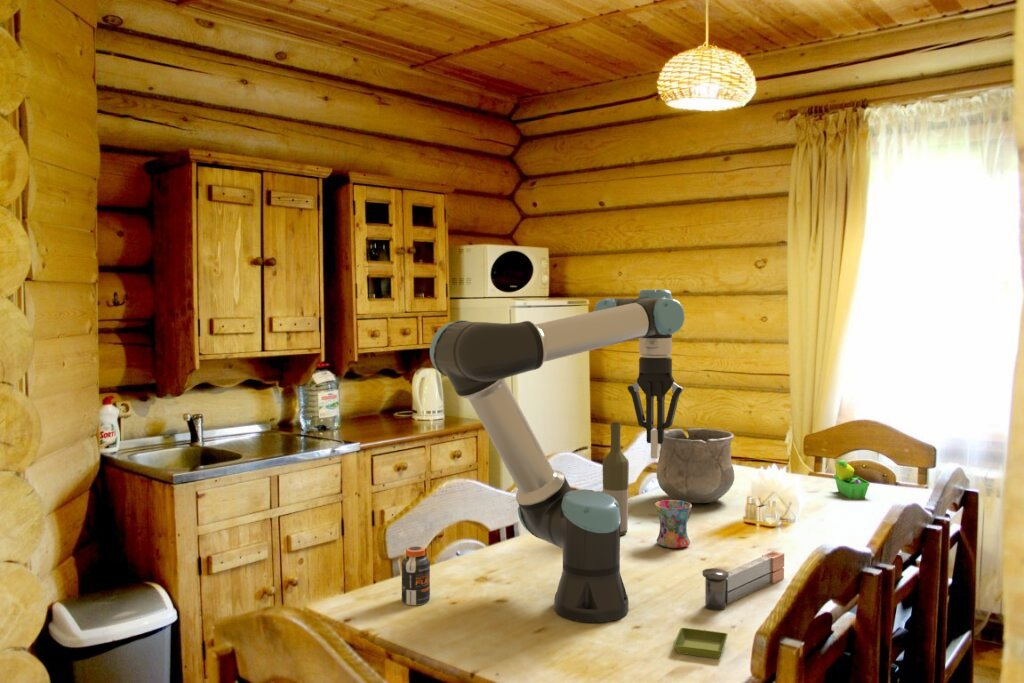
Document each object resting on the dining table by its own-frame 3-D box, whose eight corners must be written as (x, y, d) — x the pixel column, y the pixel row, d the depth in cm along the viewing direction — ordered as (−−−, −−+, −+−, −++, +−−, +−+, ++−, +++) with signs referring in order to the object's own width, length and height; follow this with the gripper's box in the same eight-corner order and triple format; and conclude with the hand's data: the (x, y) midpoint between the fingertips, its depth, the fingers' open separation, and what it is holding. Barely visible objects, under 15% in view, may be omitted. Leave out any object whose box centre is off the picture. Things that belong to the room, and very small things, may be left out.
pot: (677, 489, 278) (677, 424, 276) (746, 498, 264) (746, 431, 263) (642, 504, 257) (642, 435, 256) (715, 515, 244) (715, 442, 242)
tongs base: (719, 613, 168) (719, 578, 168) (697, 607, 172) (697, 572, 172) (788, 579, 188) (789, 548, 188) (767, 574, 192) (767, 543, 192)
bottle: (621, 538, 221) (621, 425, 219) (597, 534, 225) (597, 423, 223) (633, 532, 227) (633, 422, 225) (610, 528, 231) (610, 420, 229)
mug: (677, 552, 209) (677, 510, 208) (647, 545, 215) (647, 504, 215) (704, 542, 217) (705, 502, 216) (675, 535, 224) (675, 496, 223)
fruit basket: (870, 499, 262) (871, 463, 261) (842, 499, 262) (842, 463, 262) (856, 490, 273) (856, 456, 273) (829, 491, 273) (829, 456, 273)
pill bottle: (418, 608, 173) (417, 554, 172) (395, 602, 176) (395, 549, 175) (435, 599, 178) (435, 546, 177) (413, 594, 181) (413, 542, 180)
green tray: (672, 656, 149) (672, 644, 149) (680, 637, 158) (680, 626, 158) (722, 663, 146) (722, 651, 146) (728, 644, 155) (728, 633, 154)
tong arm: (729, 592, 173) (729, 577, 173) (717, 588, 175) (717, 574, 175) (784, 566, 189) (784, 553, 189) (772, 563, 191) (772, 550, 191)
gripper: (623, 356, 193) (623, 458, 194) (680, 357, 188) (679, 462, 189) (632, 354, 200) (632, 452, 201) (686, 355, 195) (686, 456, 196)
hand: (655, 457), depth 195 cm, fingers closed
